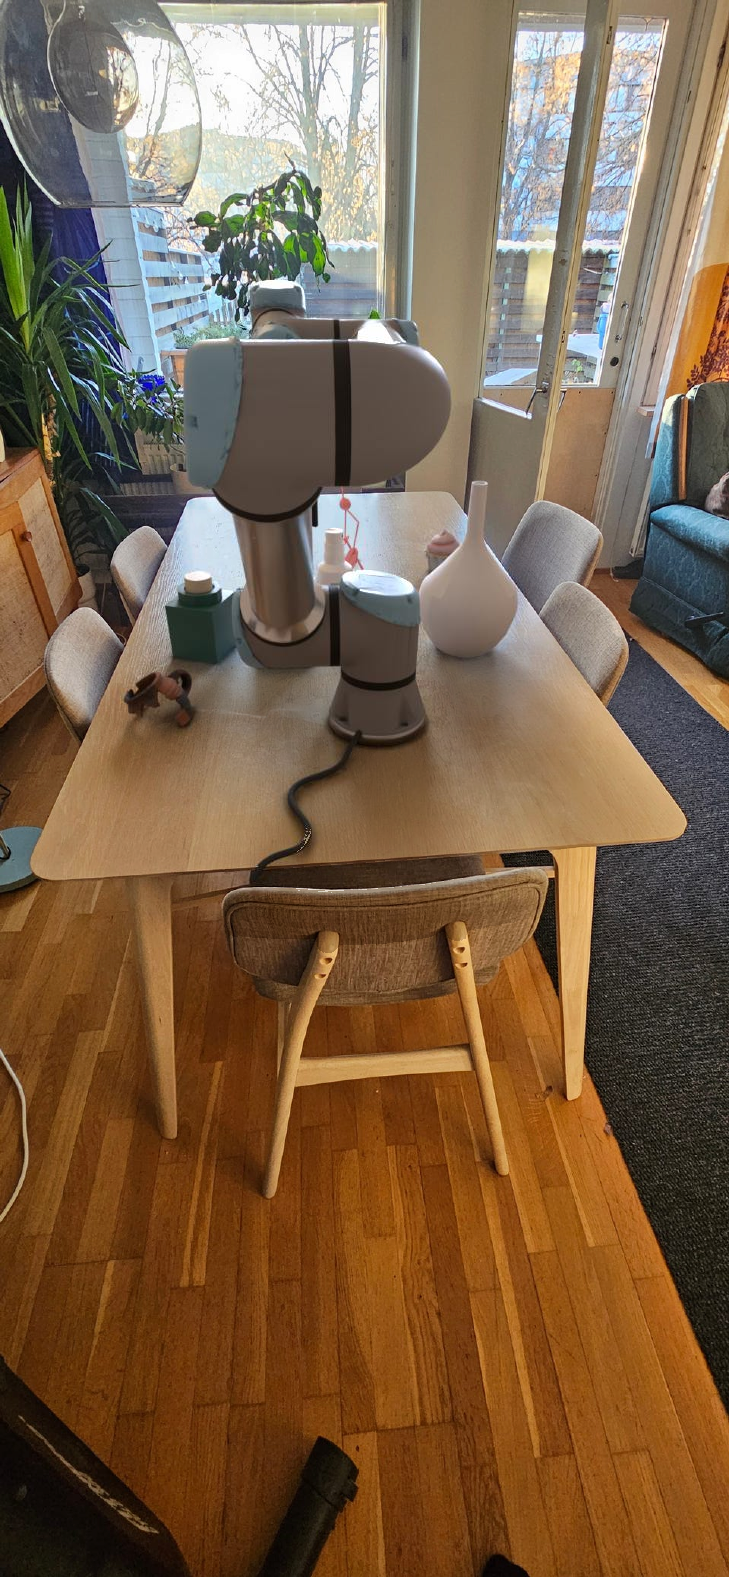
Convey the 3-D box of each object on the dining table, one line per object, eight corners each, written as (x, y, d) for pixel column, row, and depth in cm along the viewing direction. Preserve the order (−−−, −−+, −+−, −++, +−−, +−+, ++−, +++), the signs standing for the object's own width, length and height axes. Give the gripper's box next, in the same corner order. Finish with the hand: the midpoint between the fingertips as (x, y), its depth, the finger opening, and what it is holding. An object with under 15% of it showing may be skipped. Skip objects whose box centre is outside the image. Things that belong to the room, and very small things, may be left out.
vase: (521, 667, 131) (548, 497, 114) (421, 669, 130) (433, 498, 112) (499, 625, 146) (520, 469, 128) (409, 627, 145) (418, 470, 127)
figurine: (353, 549, 183) (353, 394, 162) (376, 585, 163) (380, 414, 142) (293, 552, 180) (285, 395, 159) (309, 590, 160) (303, 416, 139)
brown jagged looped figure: (177, 739, 111) (141, 699, 107) (142, 745, 117) (107, 708, 113) (217, 689, 118) (185, 649, 114) (182, 697, 124) (151, 660, 120)
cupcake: (416, 567, 173) (419, 524, 167) (452, 563, 175) (456, 522, 169) (430, 580, 166) (433, 537, 160) (467, 577, 168) (472, 533, 162)
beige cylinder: (205, 596, 126) (204, 582, 125) (181, 593, 128) (179, 579, 126) (217, 586, 130) (215, 572, 129) (193, 583, 131) (191, 569, 130)
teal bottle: (217, 663, 131) (209, 600, 124) (172, 657, 133) (162, 594, 126) (239, 641, 139) (233, 580, 132) (197, 635, 141) (189, 575, 133)
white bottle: (347, 628, 144) (347, 537, 133) (314, 625, 145) (312, 534, 134) (355, 615, 149) (355, 526, 138) (323, 612, 150) (321, 524, 139)
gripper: (304, 380, 117) (308, 508, 132) (213, 426, 101) (229, 565, 116) (344, 388, 115) (344, 517, 130) (257, 437, 99) (268, 577, 114)
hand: (290, 540), depth 123 cm, fingers open, 13 cm apart
